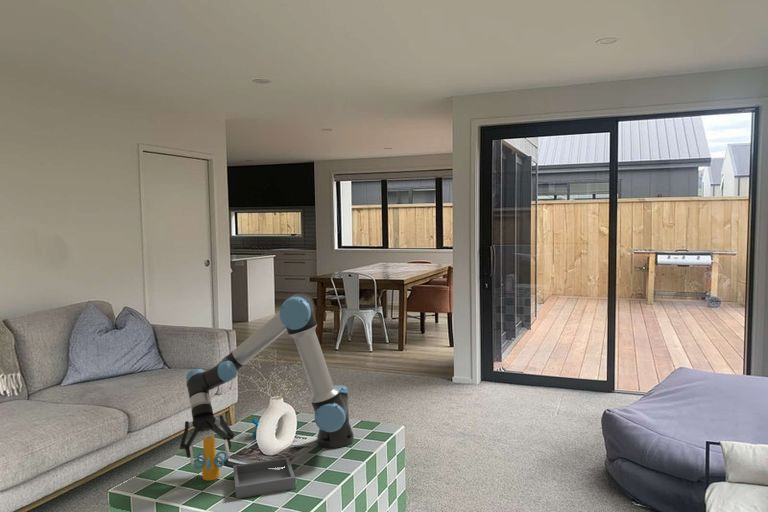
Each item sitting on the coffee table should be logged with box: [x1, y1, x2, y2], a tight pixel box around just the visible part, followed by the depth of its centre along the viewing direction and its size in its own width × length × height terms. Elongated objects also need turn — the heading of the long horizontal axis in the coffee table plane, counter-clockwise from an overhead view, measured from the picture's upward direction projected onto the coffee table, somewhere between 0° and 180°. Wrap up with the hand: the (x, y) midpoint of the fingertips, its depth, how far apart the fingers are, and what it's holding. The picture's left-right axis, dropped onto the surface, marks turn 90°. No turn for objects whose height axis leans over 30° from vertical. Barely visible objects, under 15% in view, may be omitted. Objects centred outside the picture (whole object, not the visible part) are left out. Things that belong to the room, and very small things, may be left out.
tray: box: [232, 457, 297, 499], centre depth 208 cm, size 20×18×4 cm
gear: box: [252, 418, 260, 438], centre depth 252 cm, size 11×6×10 cm
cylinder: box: [193, 434, 227, 482], centre depth 213 cm, size 12×10×15 cm
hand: (211, 461), depth 210 cm, fingers closed on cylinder, 12 cm apart
